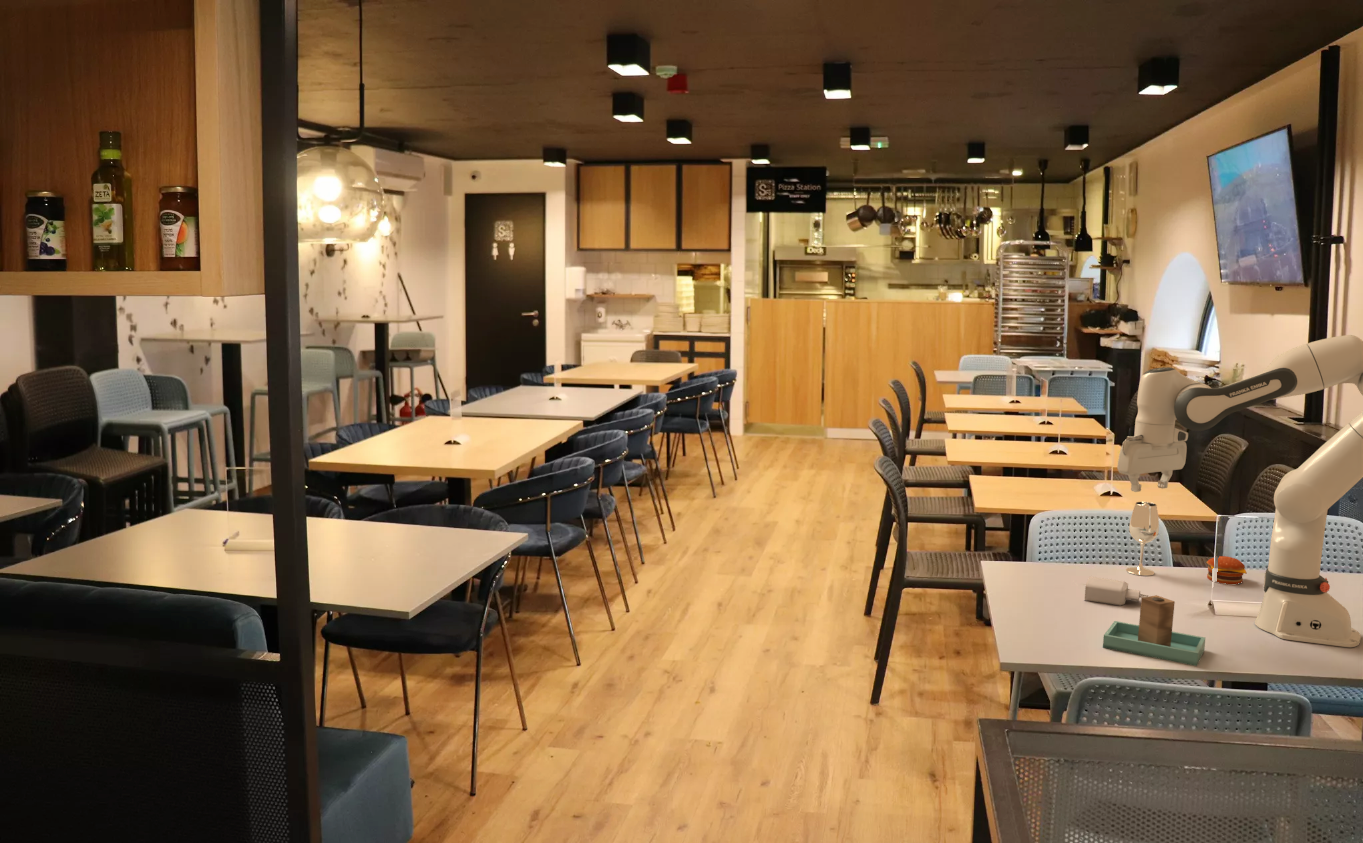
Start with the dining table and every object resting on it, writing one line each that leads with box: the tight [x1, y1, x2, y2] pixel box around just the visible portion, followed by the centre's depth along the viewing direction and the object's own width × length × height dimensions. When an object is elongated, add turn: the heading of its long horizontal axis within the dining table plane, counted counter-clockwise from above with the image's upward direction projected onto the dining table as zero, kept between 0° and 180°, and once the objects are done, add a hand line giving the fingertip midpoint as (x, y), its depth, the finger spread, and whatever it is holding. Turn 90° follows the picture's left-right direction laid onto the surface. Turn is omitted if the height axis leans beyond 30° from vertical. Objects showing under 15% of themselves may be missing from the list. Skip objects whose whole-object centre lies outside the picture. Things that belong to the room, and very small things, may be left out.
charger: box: [1084, 576, 1149, 606], centre depth 294 cm, size 5×9×15 cm
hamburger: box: [1205, 555, 1247, 585], centre depth 313 cm, size 9×10×7 cm
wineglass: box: [1125, 501, 1160, 577], centre depth 318 cm, size 8×8×20 cm
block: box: [1138, 594, 1176, 647], centre depth 258 cm, size 5×5×11 cm
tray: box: [1102, 620, 1206, 667], centre depth 259 cm, size 20×12×3 cm, turn 58°
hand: (1149, 489), depth 274 cm, fingers open, 8 cm apart
